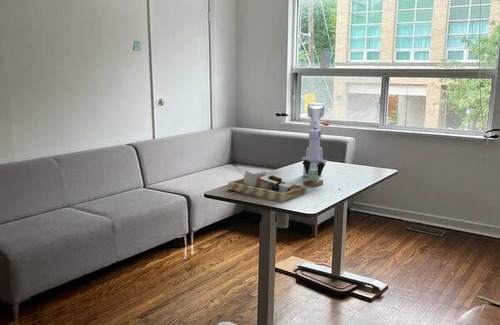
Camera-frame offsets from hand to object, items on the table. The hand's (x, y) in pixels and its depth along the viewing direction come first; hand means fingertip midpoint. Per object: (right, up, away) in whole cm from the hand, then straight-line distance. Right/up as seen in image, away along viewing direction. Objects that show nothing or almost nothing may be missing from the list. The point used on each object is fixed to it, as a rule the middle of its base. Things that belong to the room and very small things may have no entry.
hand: (313, 174), depth 268 cm
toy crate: (-27, -9, -15) cm, 32 cm away
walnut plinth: (0, -6, +1) cm, 6 cm away
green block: (0, -3, +1) cm, 3 cm away
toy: (-24, -9, -15) cm, 30 cm away
